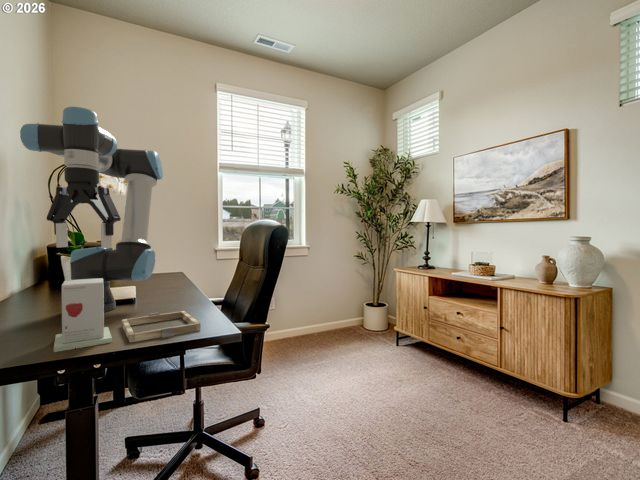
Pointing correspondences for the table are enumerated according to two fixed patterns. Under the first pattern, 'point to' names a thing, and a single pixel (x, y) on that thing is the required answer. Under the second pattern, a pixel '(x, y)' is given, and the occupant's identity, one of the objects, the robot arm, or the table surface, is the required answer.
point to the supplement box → (82, 309)
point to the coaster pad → (81, 342)
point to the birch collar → (163, 332)
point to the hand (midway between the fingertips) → (84, 247)
